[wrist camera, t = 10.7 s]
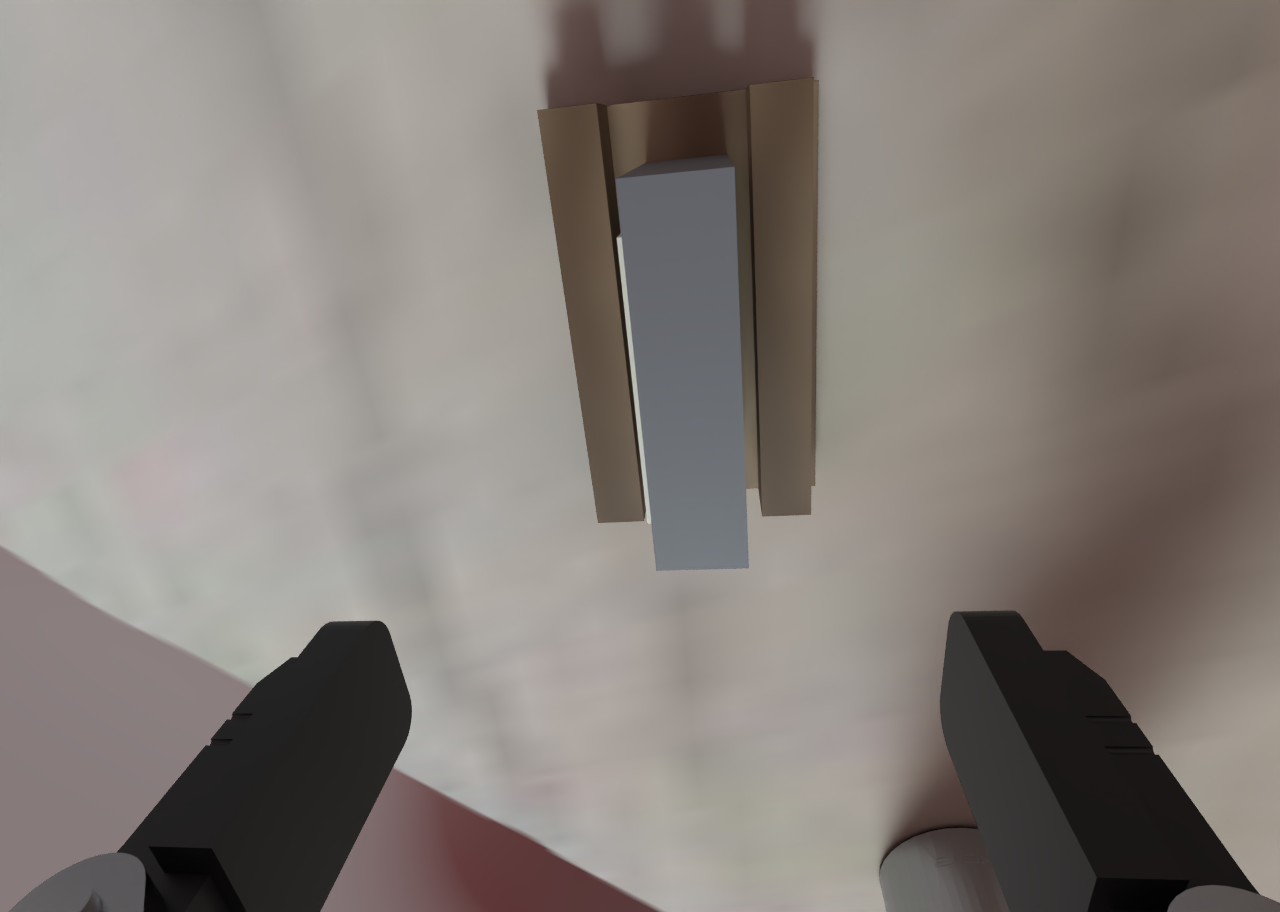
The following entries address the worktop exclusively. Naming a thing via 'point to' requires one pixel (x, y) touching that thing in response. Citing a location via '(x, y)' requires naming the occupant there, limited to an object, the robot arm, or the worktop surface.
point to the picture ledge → (767, 272)
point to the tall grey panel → (686, 357)
